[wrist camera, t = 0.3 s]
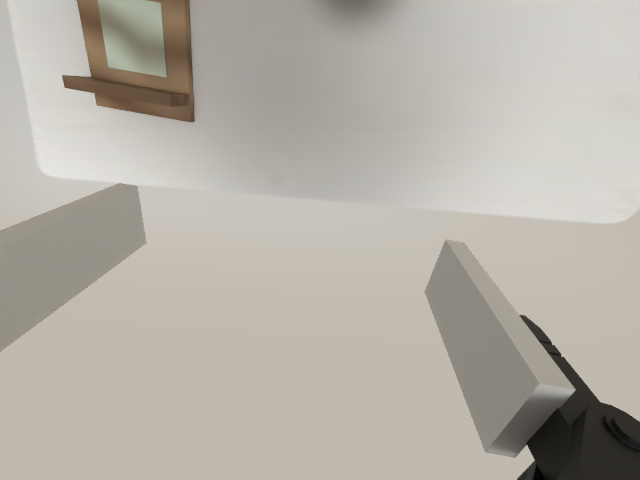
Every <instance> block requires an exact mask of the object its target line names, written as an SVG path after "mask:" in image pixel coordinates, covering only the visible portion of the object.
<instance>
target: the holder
mask: <svg viewBox="0 0 640 480" xmlns="http://www.w3.org/2000/svg"><path fill="white" fill-rule="evenodd" d="M77 3H78V8H79V13H80V19H81V24H82V29H83V35H84V40H85V45H86V51H87V56H88V61H89V66H90V72H91V77H80V76H65V75H62V78H63V82H64V86H65V88H69V89H75V90H80V91H86V92H92V93H95V98H96V104H97V105H98V106H104V107H109V108H115V109H120V110H126V111H132V112H137V113H143V114H148V115H154V116H160V117H165V118H171V119H176V120H182V121H187V122H194V103H193V81H192V59H191V37H190V15H189V0H77Z"/></svg>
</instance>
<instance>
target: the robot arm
mask: <svg viewBox="0 0 640 480" xmlns="http://www.w3.org/2000/svg"><path fill="white" fill-rule="evenodd" d="M144 244H146V238H145V231H144V226H143V218H142V212H141V206H140V200H139V193H138V187H137V186H133V185H127V184H121V183H119V184H117V185H114V186H111V187H109V188H106V189H104V190H101V191H99V192H97V193H94V194H91V195H89V196H87V197H84V198H81V199H79V200H76V201H74V202H71V203H69V204H66V205H64V206H61V207H59V208H56V209H54V210H51V211H49V212H46V213H44V214H41V215H39V216H36V217H33V218H31V219H29V220H26V221H23V222H21V223H19V224H16V225H13V226H11V227H9V228H6V229H3V230H1V231H0V352H1V351H2V350H3V349H4V348H6V347H7V346H9V345H10V344H11V343H13V342H14V341H15V340H17V339H18V338H19V337H21V336H22V335H23V334H25V333H26V332H27V331H29V330H30V329H31V328H33V327H34V326H36V325H37V324H38V323H39V322H41V321H42V320H44V319H45V318H46V317H48V316H49V315H50V314H52V313H53V312H54V311H56V310H57V309H58V308H59V307H61V306H62V305H64V304H65V303H66V302H68V301H69V300H70V299H72V298H73V297H75V296H76V295H77V294H79V293H80V292H81V291H83V290H84V289H85V288H87V287H88V286H89V285H91V284H92V283H93V282H95V281H96V280H97V279H98V278H100V277H101V276H103V275H104V274H105V273H107V272H108V271H109V270H111V269H112V268H113V267H115V266H116V265H118V264H119V263H120V262H122V261H123V260H124V259H125V258H127V257H128V256H130V255H131V254H132V253H134V252H135V251H136V250H138V249H139V248H140V247H142V246H143V245H144ZM425 294H426V297H427V299H428V302H429V304H430V307H431V310H432V313H433V315H434V318H435V320H436V323H437V326H438V328H439V331H440V334H441V336H442V339H443V341H444V344H445V347H446V349H447V352H448V355H449V358H450V360H451V363H452V365H453V368H454V371H455V373H456V376H457V379H458V381H459V384H460V387H461V389H462V392H463V395H464V397H465V400H466V403H467V405H468V408H469V410H470V413H471V416H472V418H473V421H474V424H475V426H476V429H477V432H478V434H479V437H480V440H481V442H482V445H483V448H484V450H485V452H487V453H492V454H497V455H504V456H509V457H514V458H515V457H516V456H517V455H518V454H519V453H520V452H521V450H522V449H523V448H524V447H525V446H526V445H528V447H529V449H530V451H531V453H532V455H533V457H534V459H535V461H534V462H533V463H532V464H531V465H530V466H529V467H528V468H527V469H526V470H525V471H524V472H523V473H522V475H521V476H520V477H518V479H517V480H640V422H639V421H637V420H636V419H634V418H633V417H632V416H630V415H629V414H627V413H626V412H624V411H622V410H620V409H618V408H616V407H613V406H612V405H608V404H604V403H601V402H600V401H599V400H598V399H597V398H596V396H595V395H594V394H593V393H592V391H591V390H590V389H589V388H588V386H587V385H586V384H585V383H584V382H583V380H582V379H581V378H580V377H579V375H578V374H577V373H576V372H575V371H574V369H573V368H572V367H571V365H570V364H569V363H568V362H567V361H566V359H565V358H564V357H561V353H560V352H559V351H558V349H557V348H556V347H555V346H554V345H552V342H551V341H550V339H549V338H548V337H547V336H546V335H545V333H544V332H543V331H542V330H541V329H540V328H539V327H538V326H537V325H535V324H534V323H533V322H532V321H531V320H529V319H528V318H527V317H526V316H523V315H519V314H518V313H517V312H516V311H515V309H514V308H513V307H512V305H511V304H510V303H509V301H508V300H507V299H506V297H505V296H504V295H503V293H502V292H501V291H500V290H499V288H498V287H497V286H496V284H495V283H494V282H493V280H492V279H491V278H490V276H489V275H488V274H487V272H486V271H485V270H484V269H483V267H482V266H481V265H480V263H479V262H478V261H477V259H476V258H475V257H474V255H473V254H472V253H471V251H470V250H469V249H468V247H467V246H466V245H465V244H464V243H463V242H457V241H451V240H445V242H444V245H443V248H442V250H441V252H440V255H439V258H438V260H437V262H436V265H435V268H434V270H433V272H432V275H431V277H430V280H429V283H428V285H427V287H426V290H425Z"/></svg>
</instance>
